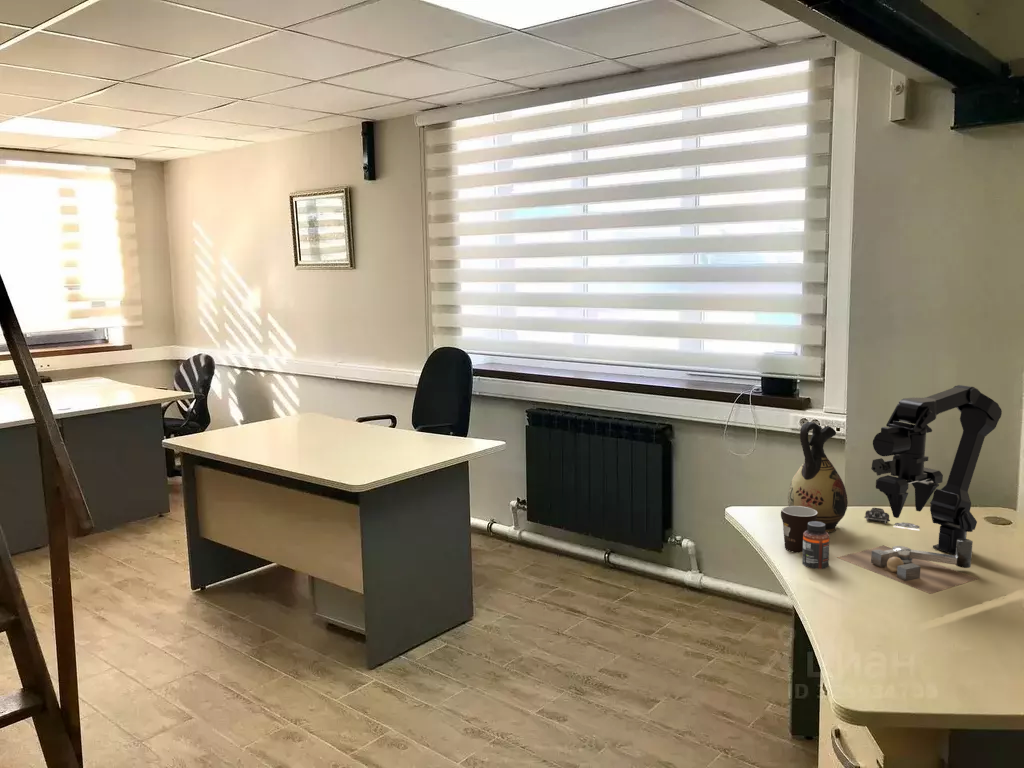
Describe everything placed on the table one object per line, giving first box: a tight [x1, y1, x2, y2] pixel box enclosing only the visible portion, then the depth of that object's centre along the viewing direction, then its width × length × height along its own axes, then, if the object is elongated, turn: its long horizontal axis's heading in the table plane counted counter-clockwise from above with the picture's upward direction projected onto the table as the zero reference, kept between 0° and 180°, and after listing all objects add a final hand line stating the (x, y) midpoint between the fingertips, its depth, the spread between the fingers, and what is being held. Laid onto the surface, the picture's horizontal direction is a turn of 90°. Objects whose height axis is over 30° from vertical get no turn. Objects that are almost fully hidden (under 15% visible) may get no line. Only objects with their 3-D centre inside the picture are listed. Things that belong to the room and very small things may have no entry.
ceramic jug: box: [787, 421, 848, 534], centre depth 221 cm, size 17×15×30 cm
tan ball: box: [887, 557, 904, 573], centre depth 188 cm, size 4×4×4 cm
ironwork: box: [897, 558, 921, 581], centre depth 190 cm, size 15×5×3 cm, turn 163°
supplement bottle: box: [801, 521, 830, 570], centre depth 193 cm, size 6×6×11 cm
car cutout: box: [863, 507, 921, 531], centre depth 226 cm, size 15×7×4 cm, turn 60°
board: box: [836, 545, 979, 595], centre depth 191 cm, size 17×25×1 cm
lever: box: [871, 538, 973, 569], centre depth 190 cm, size 21×9×7 cm, turn 62°
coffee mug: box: [780, 505, 818, 553], centre depth 208 cm, size 12×9×10 cm
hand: (907, 514), depth 196 cm, fingers open, 9 cm apart
